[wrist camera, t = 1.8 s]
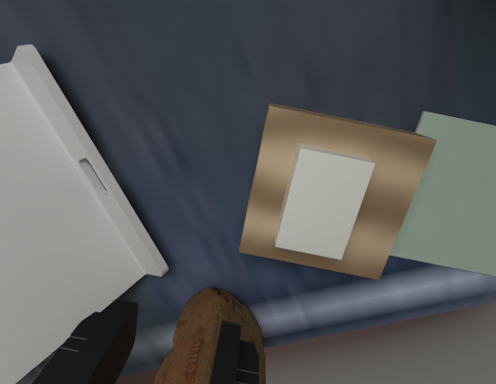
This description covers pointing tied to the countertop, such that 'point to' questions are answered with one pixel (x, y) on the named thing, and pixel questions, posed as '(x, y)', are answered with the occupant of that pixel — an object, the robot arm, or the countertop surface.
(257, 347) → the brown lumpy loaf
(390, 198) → the board
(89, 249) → the tablet stand
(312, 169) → the pale grey rectangular block
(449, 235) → the mat
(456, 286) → the countertop surface
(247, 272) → the countertop surface
